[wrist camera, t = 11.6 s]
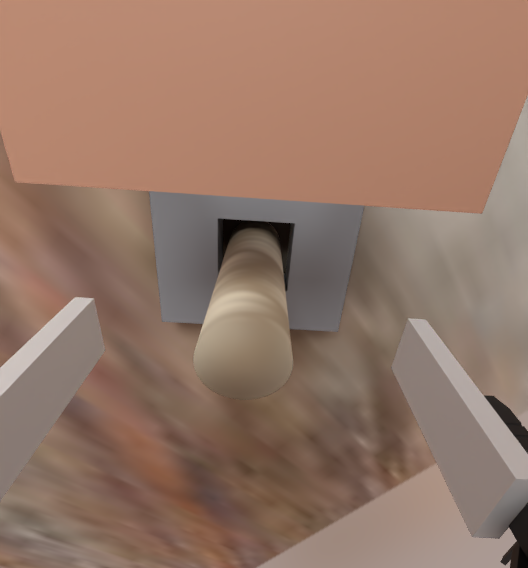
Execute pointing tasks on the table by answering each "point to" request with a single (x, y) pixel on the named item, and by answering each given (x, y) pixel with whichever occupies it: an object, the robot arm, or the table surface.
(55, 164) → the socket porch
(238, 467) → the table surface
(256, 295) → the peg
